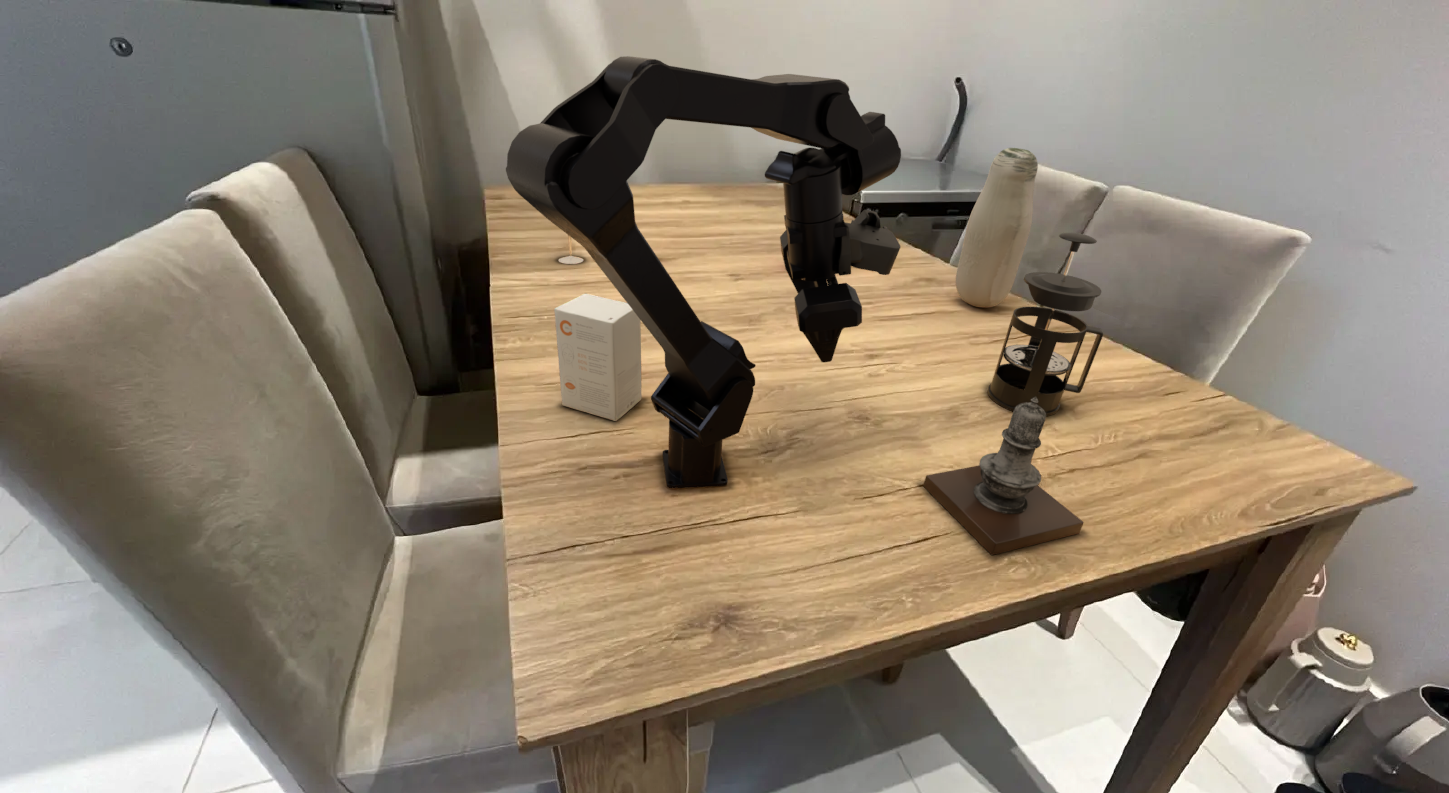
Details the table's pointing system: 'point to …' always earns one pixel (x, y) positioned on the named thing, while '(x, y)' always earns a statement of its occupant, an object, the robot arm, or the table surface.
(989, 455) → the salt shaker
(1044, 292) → the french press
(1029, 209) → the cream bottle
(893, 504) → the table surface
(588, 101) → the robot arm
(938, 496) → the walnut board
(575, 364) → the small box
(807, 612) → the table surface
